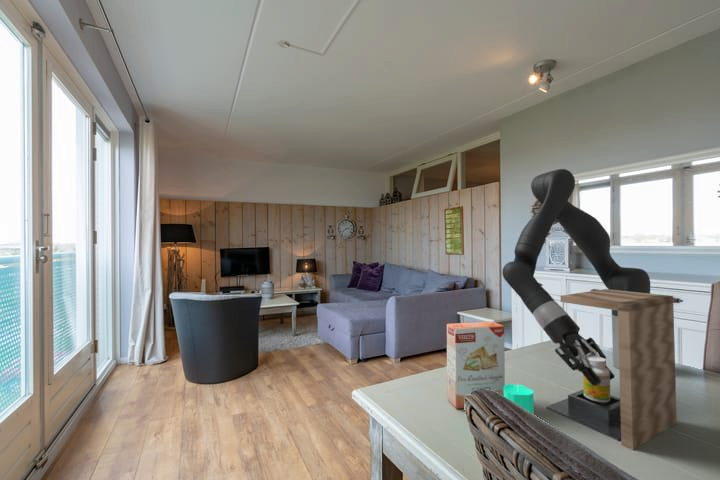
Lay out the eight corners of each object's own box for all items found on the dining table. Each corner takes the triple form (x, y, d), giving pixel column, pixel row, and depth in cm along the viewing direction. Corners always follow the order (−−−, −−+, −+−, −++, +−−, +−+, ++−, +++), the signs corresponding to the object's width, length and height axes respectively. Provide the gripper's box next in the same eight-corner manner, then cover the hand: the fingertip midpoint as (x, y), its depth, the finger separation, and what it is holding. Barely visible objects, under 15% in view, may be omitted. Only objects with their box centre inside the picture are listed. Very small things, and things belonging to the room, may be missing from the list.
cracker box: (456, 410, 84) (454, 328, 84) (446, 399, 90) (445, 322, 90) (507, 405, 87) (505, 325, 87) (493, 394, 92) (492, 320, 93)
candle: (538, 447, 69) (537, 389, 69) (508, 444, 70) (506, 387, 70) (530, 430, 75) (528, 377, 75) (501, 428, 76) (500, 376, 76)
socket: (582, 394, 92) (582, 379, 92) (654, 420, 78) (653, 404, 78) (546, 408, 85) (545, 392, 85) (618, 440, 70) (617, 422, 70)
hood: (608, 398, 89) (605, 289, 89) (676, 423, 76) (673, 295, 77) (563, 418, 80) (560, 295, 80) (632, 449, 67) (628, 304, 68)
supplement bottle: (578, 393, 84) (577, 355, 84) (598, 392, 84) (597, 354, 84) (595, 403, 78) (594, 362, 78) (616, 402, 79) (615, 361, 79)
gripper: (547, 316, 85) (600, 380, 74) (580, 310, 91) (632, 368, 81) (529, 332, 89) (576, 394, 79) (561, 325, 96) (608, 382, 85)
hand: (604, 381), depth 80 cm, fingers closed on supplement bottle, 5 cm apart
